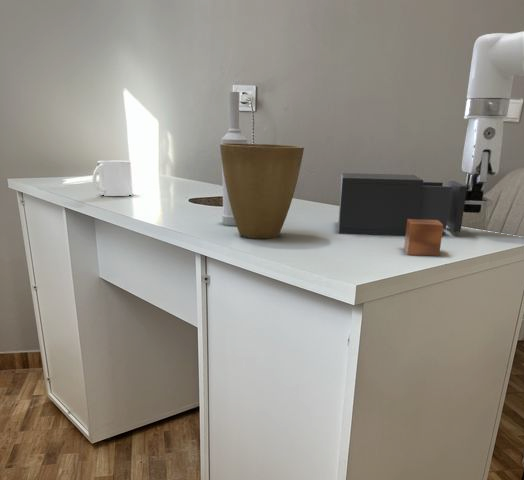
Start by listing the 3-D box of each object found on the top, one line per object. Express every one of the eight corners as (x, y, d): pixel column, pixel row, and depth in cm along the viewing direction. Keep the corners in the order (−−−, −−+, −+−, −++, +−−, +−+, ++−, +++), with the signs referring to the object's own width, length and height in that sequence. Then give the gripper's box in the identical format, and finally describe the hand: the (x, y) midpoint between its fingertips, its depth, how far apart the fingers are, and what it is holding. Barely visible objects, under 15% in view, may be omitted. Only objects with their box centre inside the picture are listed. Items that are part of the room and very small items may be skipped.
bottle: (229, 221, 119) (228, 93, 110) (251, 223, 117) (252, 92, 108) (217, 224, 115) (215, 91, 105) (239, 226, 112) (239, 91, 103)
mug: (123, 192, 167) (121, 160, 163) (138, 195, 160) (136, 161, 157) (85, 195, 159) (82, 161, 156) (99, 198, 153) (96, 162, 150)
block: (434, 249, 94) (438, 219, 92) (439, 256, 89) (443, 224, 87) (403, 248, 94) (407, 218, 92) (407, 254, 90) (411, 223, 88)
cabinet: (408, 225, 118) (414, 174, 114) (416, 236, 106) (423, 180, 102) (338, 223, 119) (341, 173, 116) (338, 233, 108) (342, 177, 104)
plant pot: (233, 244, 95) (233, 145, 89) (212, 230, 108) (210, 142, 102) (313, 240, 100) (317, 146, 94) (283, 227, 113) (286, 143, 107)
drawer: (477, 223, 115) (483, 181, 112) (491, 233, 105) (499, 187, 102) (382, 220, 117) (386, 179, 114) (387, 229, 107) (392, 184, 104)
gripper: (520, 109, 95) (501, 218, 102) (496, 112, 109) (481, 207, 116) (474, 108, 96) (459, 216, 103) (456, 111, 110) (444, 206, 117)
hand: (470, 211), depth 109 cm, fingers closed
